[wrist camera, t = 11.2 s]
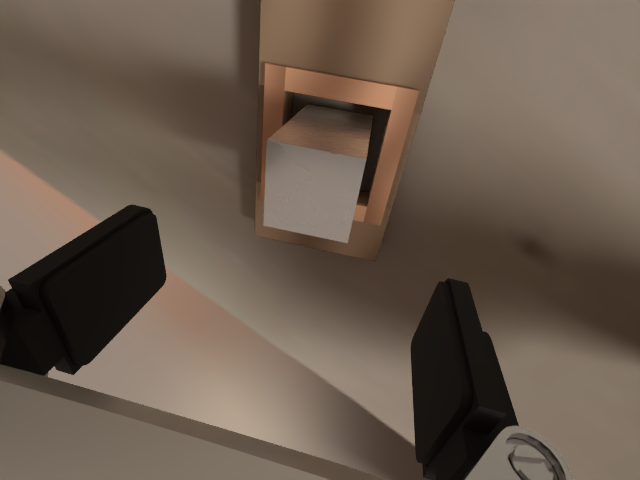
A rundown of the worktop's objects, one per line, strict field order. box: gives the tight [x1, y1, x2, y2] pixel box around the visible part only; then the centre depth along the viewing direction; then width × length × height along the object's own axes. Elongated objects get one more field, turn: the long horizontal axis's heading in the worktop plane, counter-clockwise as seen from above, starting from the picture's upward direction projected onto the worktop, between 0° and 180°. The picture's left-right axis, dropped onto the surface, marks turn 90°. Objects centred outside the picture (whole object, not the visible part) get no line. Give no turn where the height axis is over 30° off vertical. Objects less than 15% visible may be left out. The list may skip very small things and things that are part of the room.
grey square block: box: [263, 104, 373, 243], centre depth 19 cm, size 4×4×9 cm
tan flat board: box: [255, 0, 455, 262], centre depth 18 cm, size 10×30×2 cm, turn 172°
